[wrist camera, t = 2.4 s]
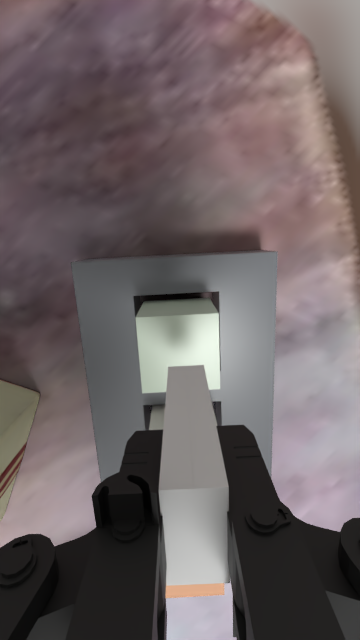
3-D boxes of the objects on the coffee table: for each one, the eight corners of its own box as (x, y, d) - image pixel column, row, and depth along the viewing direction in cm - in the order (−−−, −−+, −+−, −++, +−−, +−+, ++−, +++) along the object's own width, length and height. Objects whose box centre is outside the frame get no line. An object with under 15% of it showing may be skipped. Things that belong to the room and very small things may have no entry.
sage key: (148, 362, 24) (142, 393, 19) (143, 301, 22) (135, 317, 18) (210, 358, 24) (220, 389, 19) (209, 297, 22) (218, 313, 18)
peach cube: (162, 536, 28) (160, 598, 23) (159, 492, 27) (156, 548, 22) (215, 533, 28) (224, 594, 23) (214, 489, 27) (223, 544, 22)
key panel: (121, 535, 32) (113, 576, 28) (87, 259, 25) (70, 262, 21) (257, 528, 32) (268, 568, 28) (261, 250, 25) (277, 251, 21)
